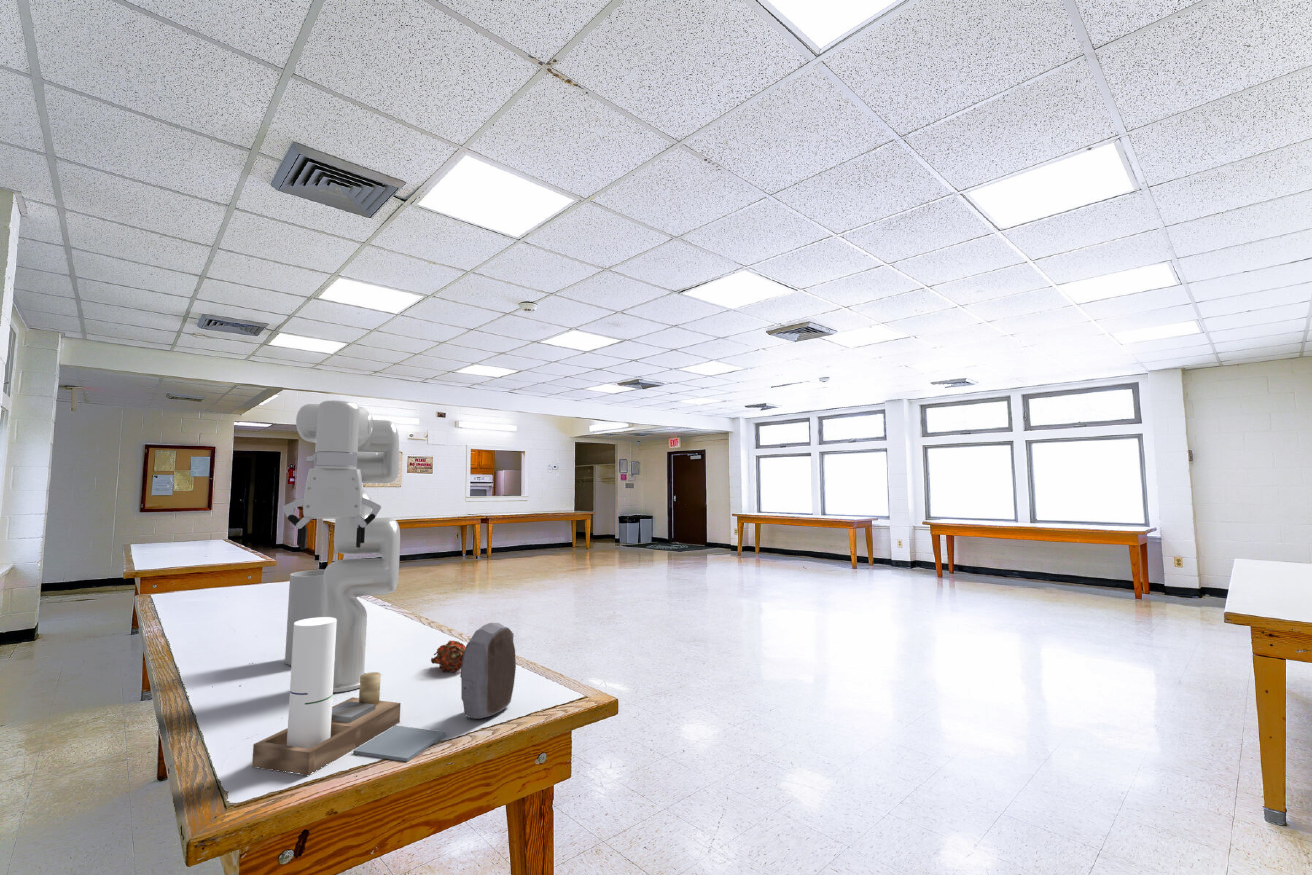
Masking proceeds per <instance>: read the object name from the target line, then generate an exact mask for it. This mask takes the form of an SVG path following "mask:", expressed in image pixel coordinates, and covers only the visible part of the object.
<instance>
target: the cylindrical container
mask: <svg viewBox="0 0 1312 875" xmlns="http://www.w3.org/2000/svg"><path fill="white" fill-rule="evenodd" d="M336 623H337V619H336V618H332V617H317V618H309V619H303V620H299V621H296V622H295V623H294V631H293V647H292V664H291V666H290V684H289V685H290V686H289V703H288V718H287V728H288V732H287V746H294V747H301V748H307V749H310V748H312V747H314V746H316V745H318V744H319V743H321V742H323V741H325V740H327V739H329V738H330V735H331V716H332V707H333V697H334V695H333V693H334V692H333V679H334V661H335V642H336Z"/></svg>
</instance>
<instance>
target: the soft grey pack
mask: <svg viewBox="0 0 1312 875" xmlns="http://www.w3.org/2000/svg"><path fill="white" fill-rule="evenodd" d="M471 636H472V637H471V638H470V639H469V641H468V642H467V644H466V645H465V647H466V648H465V652H464V655H463V658H462V667H461V668H460V675H459V676H460V678H461V679H460V681H461V682H460V683H461V684H460V685H461V700H462V705H463V713H464V715H465V716H466V717H468V718H471V719H483V718H487V717H491V716H494V715H496V714H498V713H499V712H502V711H503V710H504V709H506V708H507V707H508V706H510V704H511V702H512V697H513V693H514V692H513V691H514V686H515V681H516V680H515V678H516V670H517V669H516V668H517V665H516V664H517V662H516V658H517V657H516V648H515V644H514V639H515V638H514V633H513V631H512V630H511V629H510V628H509V627H507V626H505V625H503V624H501V623H500V622H489V623H486V624H484V625H482V626H481V627H480V628H478V629H476V630H475V631H474V633H473V635H471Z"/></svg>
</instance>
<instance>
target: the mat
mask: <svg viewBox="0 0 1312 875" xmlns="http://www.w3.org/2000/svg"><path fill="white" fill-rule="evenodd" d="M446 733H447V732H446V731H441V730H435V729H434V730H433V729H427V728H418V727H411V726H402V725H397V724H396V725H394V726H392V727H390V728H389V729H387V730H385V731H384V732H382V733H380V734H379V735H377V736H375V737H374V738H372V739H370V740H368V741H367V742H365V743H363V744H362V745H360V746H358V747H357V748H355V749H353V750H352V751H353V752H352V754H353V755H360V756H366V757H371V758H372V757H374V758H379V759H386V760H392V761H393V760H394V761H400V762H409V761H411V760H412V759H413V758H415V757H416V756H417V755H420V753H422V752H424V751H425V750H426V749H428V748H429V747H431V746H432V745H434V744H435V743H436V742H437V741H439V740H440V739H442V738H444V737H445V736H446V735H447V734H446Z"/></svg>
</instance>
